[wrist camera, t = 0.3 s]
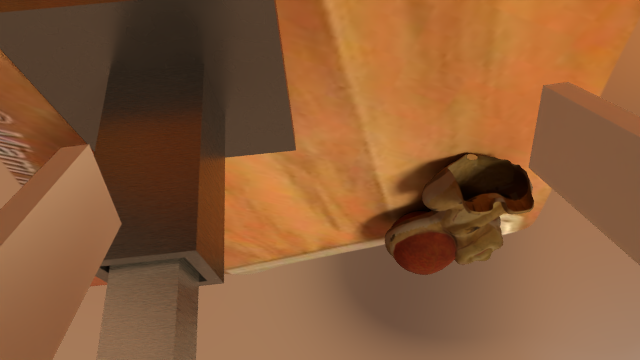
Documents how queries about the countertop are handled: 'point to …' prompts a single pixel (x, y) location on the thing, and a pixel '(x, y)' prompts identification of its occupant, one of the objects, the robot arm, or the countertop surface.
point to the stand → (159, 107)
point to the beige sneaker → (460, 215)
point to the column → (150, 311)
